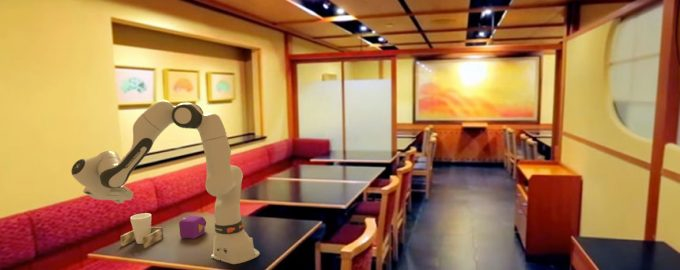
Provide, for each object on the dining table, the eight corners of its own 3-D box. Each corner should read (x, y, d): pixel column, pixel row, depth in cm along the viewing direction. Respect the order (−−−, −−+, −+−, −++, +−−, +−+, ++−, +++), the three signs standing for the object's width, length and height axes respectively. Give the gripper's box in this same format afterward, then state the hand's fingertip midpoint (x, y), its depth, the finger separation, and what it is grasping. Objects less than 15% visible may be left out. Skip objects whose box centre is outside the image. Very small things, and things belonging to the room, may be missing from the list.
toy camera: (210, 230, 221) (208, 212, 220) (198, 239, 208) (197, 220, 207) (190, 230, 222) (188, 212, 221) (178, 239, 209) (176, 220, 208)
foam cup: (133, 239, 211) (130, 215, 210) (153, 236, 215) (151, 212, 213) (132, 246, 203) (130, 220, 201) (153, 242, 206) (151, 217, 205)
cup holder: (145, 247, 200) (144, 236, 199) (121, 246, 203) (120, 235, 203) (163, 237, 212) (162, 227, 212) (140, 236, 216) (139, 226, 215)
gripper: (125, 180, 183) (143, 196, 193) (87, 179, 188) (106, 195, 198) (118, 193, 179) (137, 208, 189) (79, 192, 184) (100, 207, 194)
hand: (121, 201), depth 194 cm, fingers closed
